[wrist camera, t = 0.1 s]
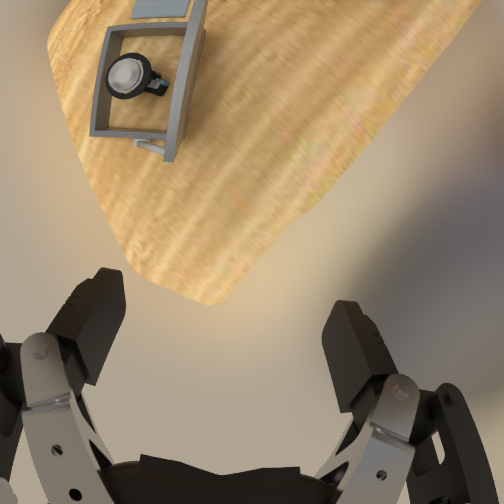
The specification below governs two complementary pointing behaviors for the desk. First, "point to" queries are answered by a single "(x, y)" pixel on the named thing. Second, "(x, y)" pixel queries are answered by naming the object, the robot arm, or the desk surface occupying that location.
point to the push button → (133, 77)
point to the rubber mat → (159, 8)
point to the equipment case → (182, 85)
